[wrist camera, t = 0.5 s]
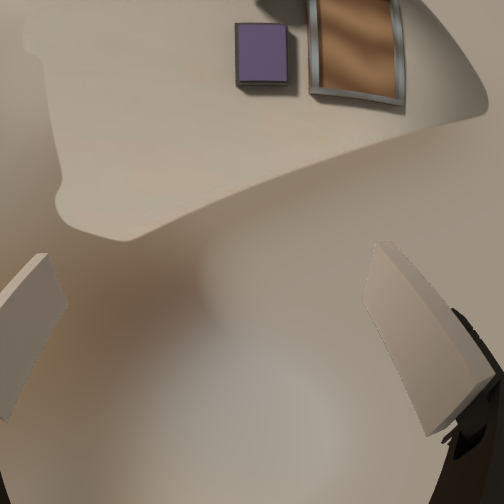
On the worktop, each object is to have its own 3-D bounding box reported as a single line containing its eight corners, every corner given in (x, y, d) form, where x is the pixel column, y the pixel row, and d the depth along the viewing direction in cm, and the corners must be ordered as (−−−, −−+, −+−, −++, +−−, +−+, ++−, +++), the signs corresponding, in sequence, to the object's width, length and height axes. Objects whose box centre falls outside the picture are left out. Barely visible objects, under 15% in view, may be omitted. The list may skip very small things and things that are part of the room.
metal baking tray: (303, -22, 21) (307, -28, 19) (391, -3, 21) (397, -6, 19) (308, 93, 29) (312, 92, 27) (397, 106, 29) (404, 106, 28)
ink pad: (234, 27, 24) (234, 21, 22) (285, 28, 25) (288, 23, 23) (235, 86, 28) (235, 84, 26) (286, 86, 29) (290, 84, 26)
